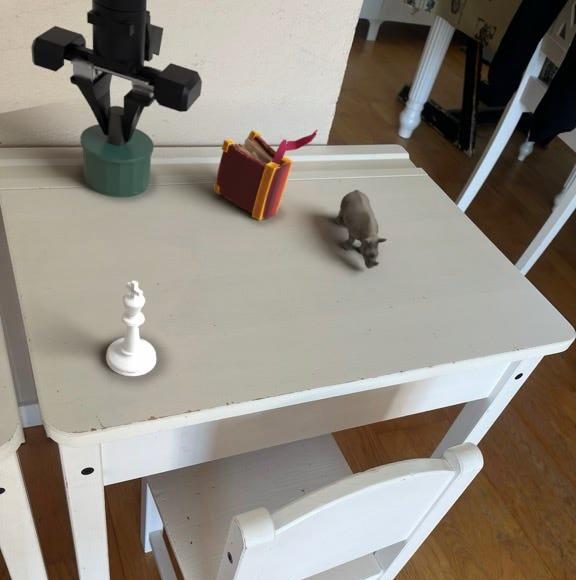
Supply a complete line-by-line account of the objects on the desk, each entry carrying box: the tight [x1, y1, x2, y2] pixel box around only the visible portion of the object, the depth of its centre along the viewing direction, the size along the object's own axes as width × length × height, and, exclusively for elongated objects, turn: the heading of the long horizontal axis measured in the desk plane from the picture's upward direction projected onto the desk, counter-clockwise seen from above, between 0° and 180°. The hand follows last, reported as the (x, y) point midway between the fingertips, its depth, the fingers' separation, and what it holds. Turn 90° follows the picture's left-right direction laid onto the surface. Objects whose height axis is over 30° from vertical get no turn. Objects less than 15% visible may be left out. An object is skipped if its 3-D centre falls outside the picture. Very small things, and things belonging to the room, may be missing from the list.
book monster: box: [213, 129, 319, 221], centre depth 84 cm, size 11×9×12 cm
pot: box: [82, 147, 152, 198], centre depth 81 cm, size 8×8×5 cm
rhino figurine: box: [334, 189, 388, 269], centre depth 82 cm, size 4×14×6 cm, turn 11°
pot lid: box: [80, 105, 155, 164], centre depth 78 cm, size 9×9×5 cm
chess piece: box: [105, 279, 157, 377], centre depth 59 cm, size 5×5×10 cm
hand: (117, 137), depth 79 cm, fingers closed on pot lid, 2 cm apart
